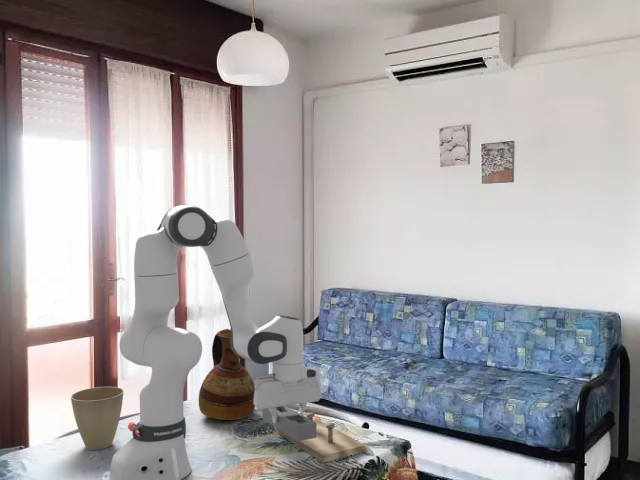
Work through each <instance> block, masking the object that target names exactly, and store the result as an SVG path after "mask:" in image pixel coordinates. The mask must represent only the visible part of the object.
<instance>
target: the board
mask: <svg viewBox="0 0 640 480" xmlns="http://www.w3.org/2000/svg"><path fill="white" fill-rule="evenodd" d="M315 415H316V414H315V412H312V411H310V412H306V414H305V417H307V418H308V419H310V420H312V421H314V422H316V423H317V429H316V438H312V439H307V440H301V441H296V440H294V439H293V438H291V437H290V436H288V435H286V434H285V433H283V432H282V431H280V430H279V429H277V434H278V435H280V437H281V436H282V437H283V438H284V439H286V440H287V441H288V442H290V443H292V444H294V445H295V446H297V447H298V448H300V449H301V450H303V451H304V452H306V453H307V454H309V455H311V456H312V457H314V458H315V459H317V460H318V461H320V462H322V464H323V463H327V462H331V461H335V459H336V460H339V458H340V459H344V458H348V457H351V456H350V455H352V456H355V455H354V454H356V455H359V454H358V453H360V454H363V453H362V452H364V453H366V449H367V448H366V444H364V443H362V442H360V441H359V440H357V439H355V438H353V437H351V436H349V435H347V434H345V433H343V432H341V431H340V430H338V429H336V428H335V427H336V424H335V423H334V422H327V423H325V422H323V421H321V420H319V419H317V418H316V419H314V418H315ZM347 456H348V457H347ZM343 457H344V458H343Z"/></svg>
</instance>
